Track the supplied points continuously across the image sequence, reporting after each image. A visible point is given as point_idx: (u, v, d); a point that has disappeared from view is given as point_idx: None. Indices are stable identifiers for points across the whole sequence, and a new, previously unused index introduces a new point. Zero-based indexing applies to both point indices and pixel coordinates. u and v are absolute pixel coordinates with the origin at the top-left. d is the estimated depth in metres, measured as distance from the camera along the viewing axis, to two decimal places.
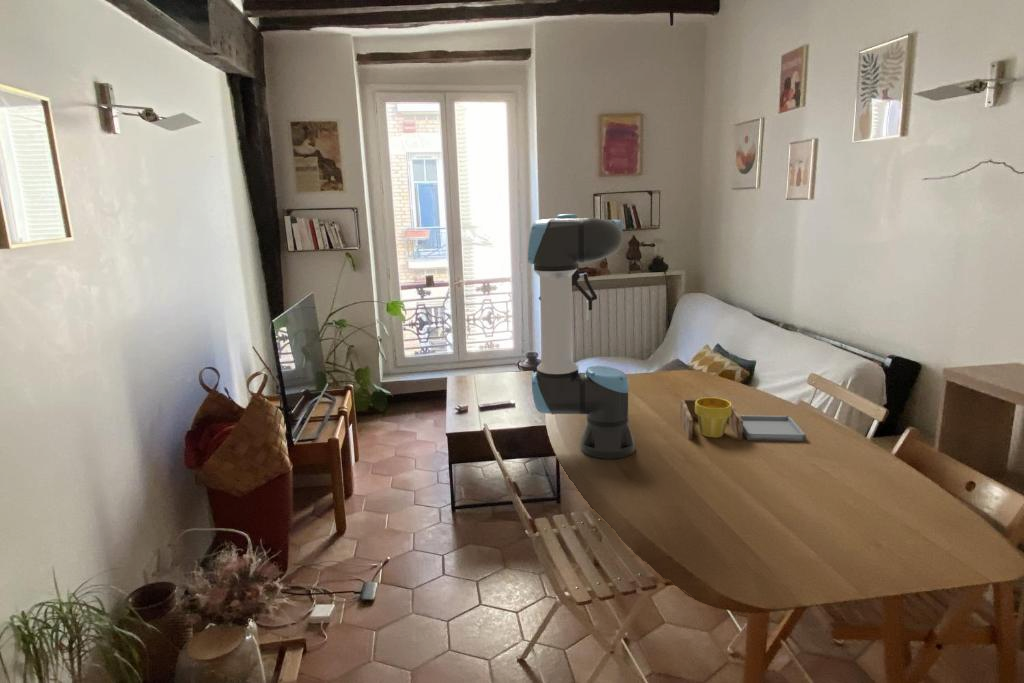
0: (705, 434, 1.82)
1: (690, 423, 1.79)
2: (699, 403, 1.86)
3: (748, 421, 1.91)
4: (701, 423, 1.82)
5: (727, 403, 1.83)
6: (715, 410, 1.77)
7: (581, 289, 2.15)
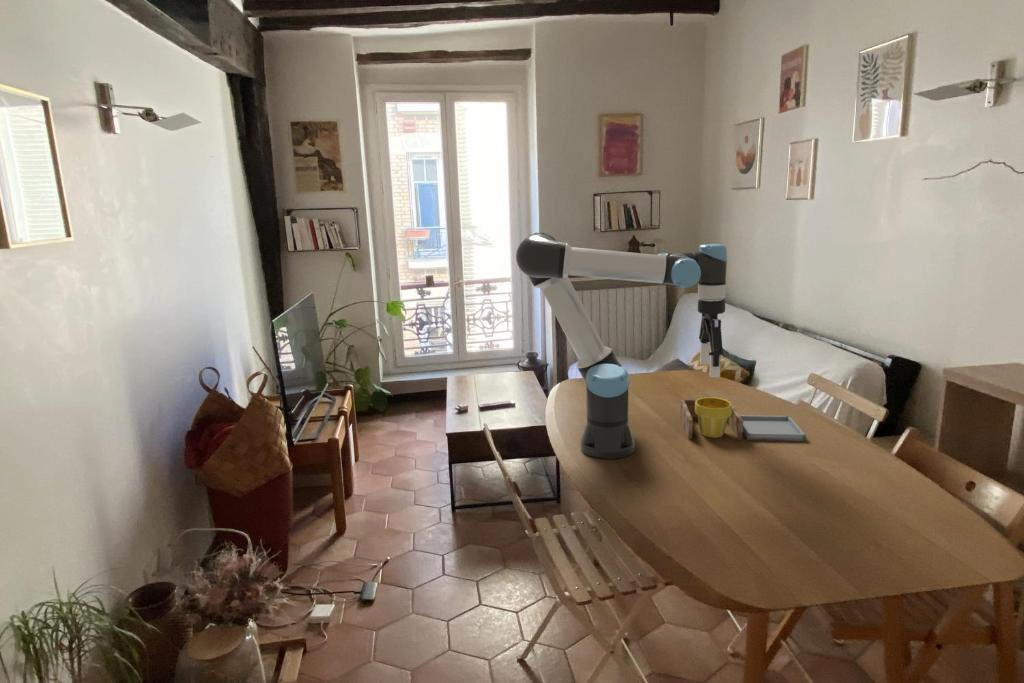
0: (705, 434, 1.82)
1: (690, 423, 1.79)
2: (699, 403, 1.86)
3: (748, 421, 1.91)
4: (701, 423, 1.82)
5: (727, 403, 1.83)
6: (715, 410, 1.77)
7: (709, 338, 1.74)
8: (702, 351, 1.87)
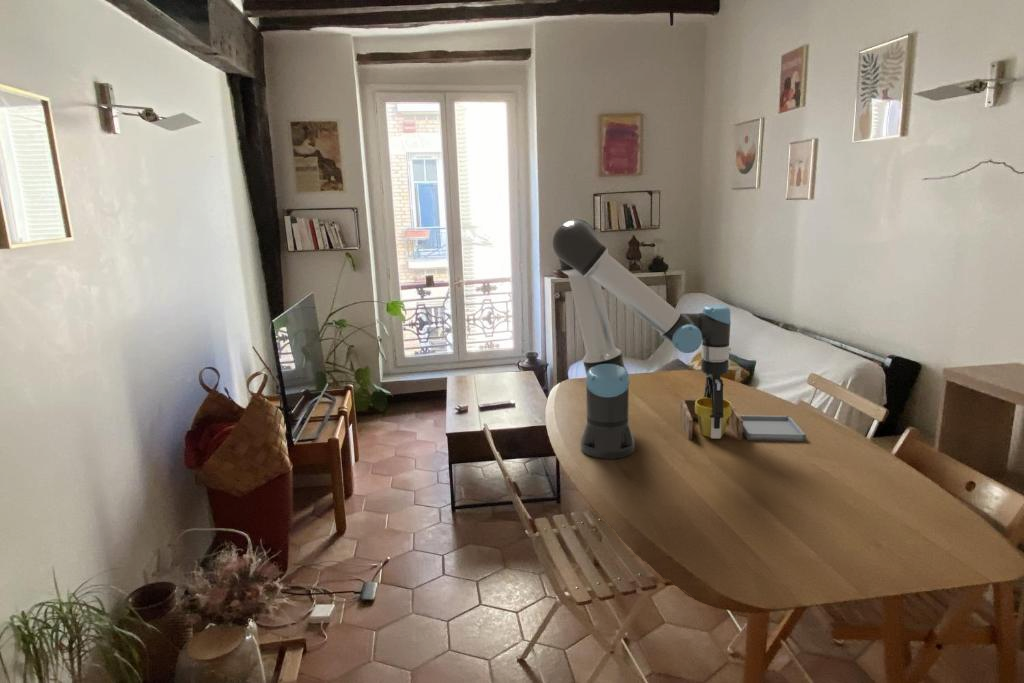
0: (705, 434, 1.82)
1: (690, 423, 1.79)
2: (699, 403, 1.86)
3: (748, 421, 1.91)
4: (701, 423, 1.82)
5: (727, 403, 1.83)
6: None
7: None
8: None
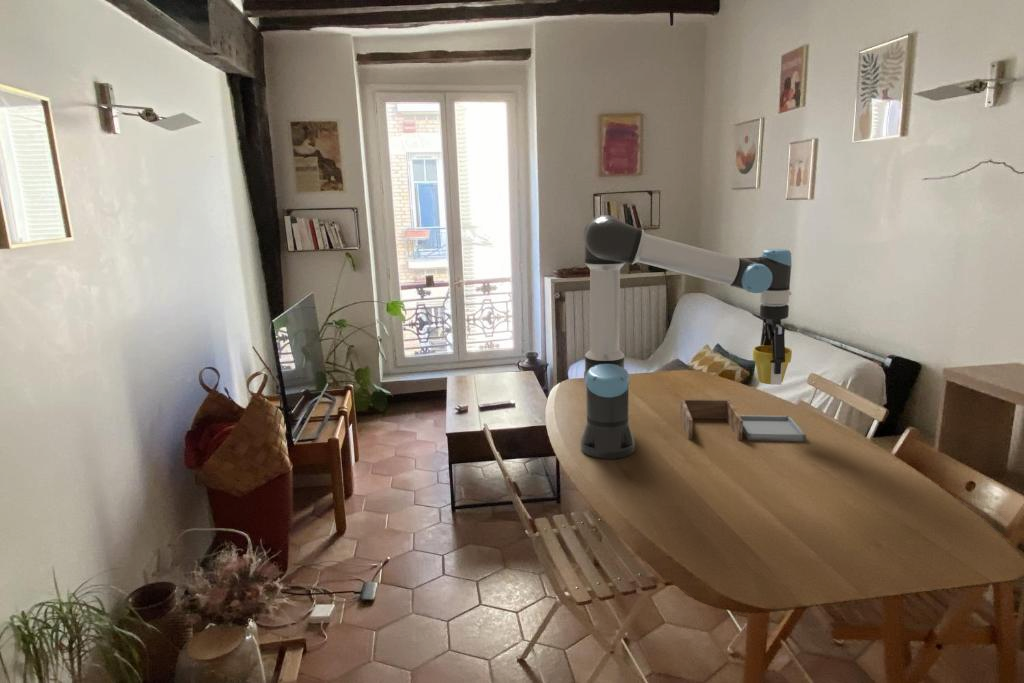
0: (764, 381, 1.79)
1: (690, 423, 1.79)
2: (757, 351, 1.83)
3: (748, 421, 1.91)
4: (760, 370, 1.79)
5: (786, 350, 1.80)
6: None
7: (772, 344, 1.75)
8: None
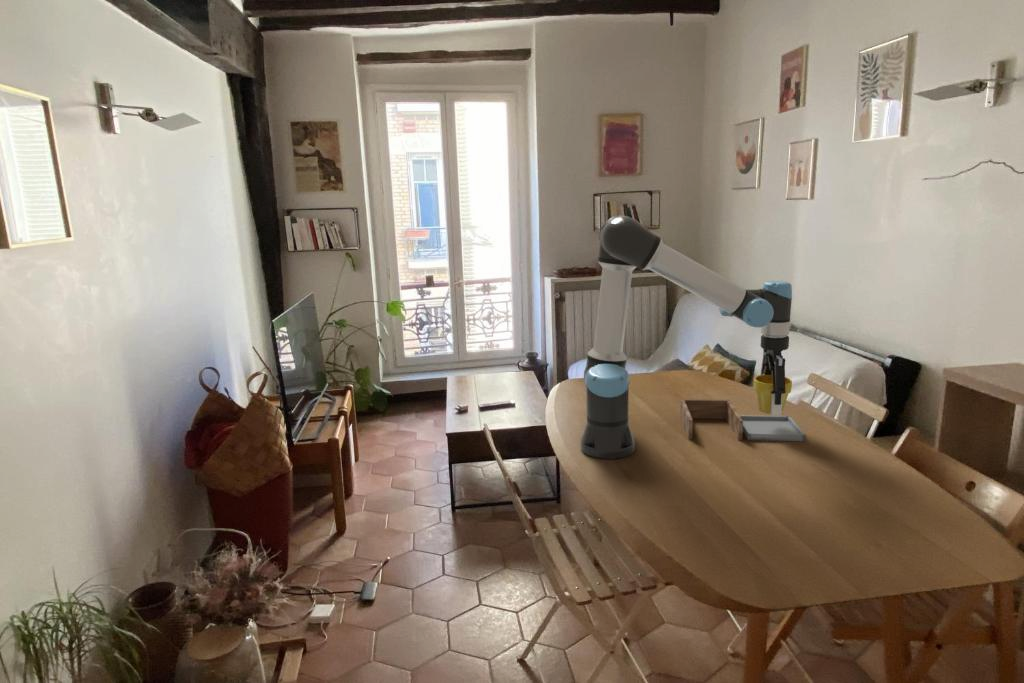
0: (764, 411, 1.81)
1: (690, 423, 1.79)
2: (757, 380, 1.85)
3: (748, 421, 1.91)
4: (760, 400, 1.81)
5: (786, 380, 1.82)
6: None
7: (772, 375, 1.77)
8: None
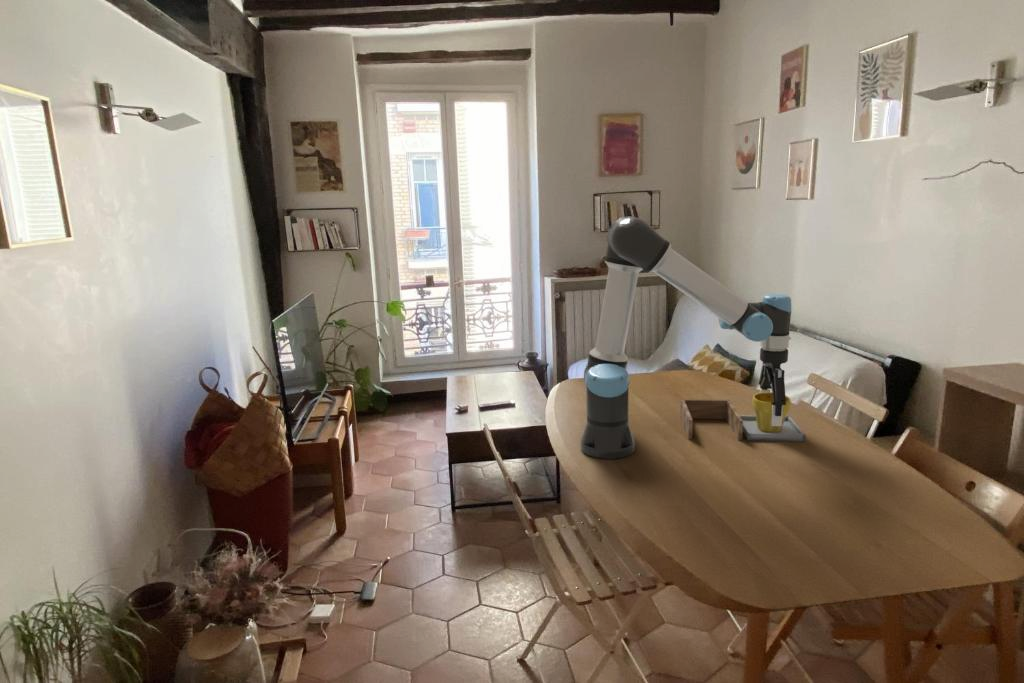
0: (763, 429, 1.82)
1: (690, 423, 1.79)
2: (756, 398, 1.86)
3: (748, 421, 1.91)
4: (759, 418, 1.82)
5: None
6: None
7: (772, 387, 1.77)
8: None
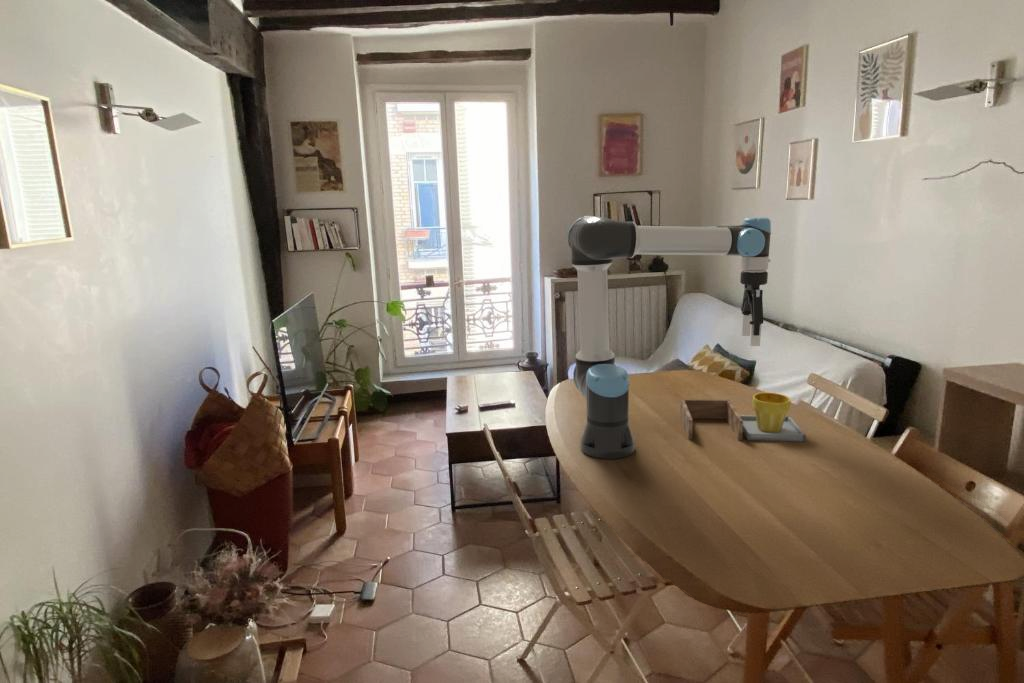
0: (763, 429, 1.82)
1: (690, 423, 1.79)
2: (756, 398, 1.86)
3: (748, 421, 1.91)
4: (759, 418, 1.82)
5: (785, 398, 1.83)
6: (775, 405, 1.77)
7: (751, 308, 1.81)
8: (743, 323, 1.93)
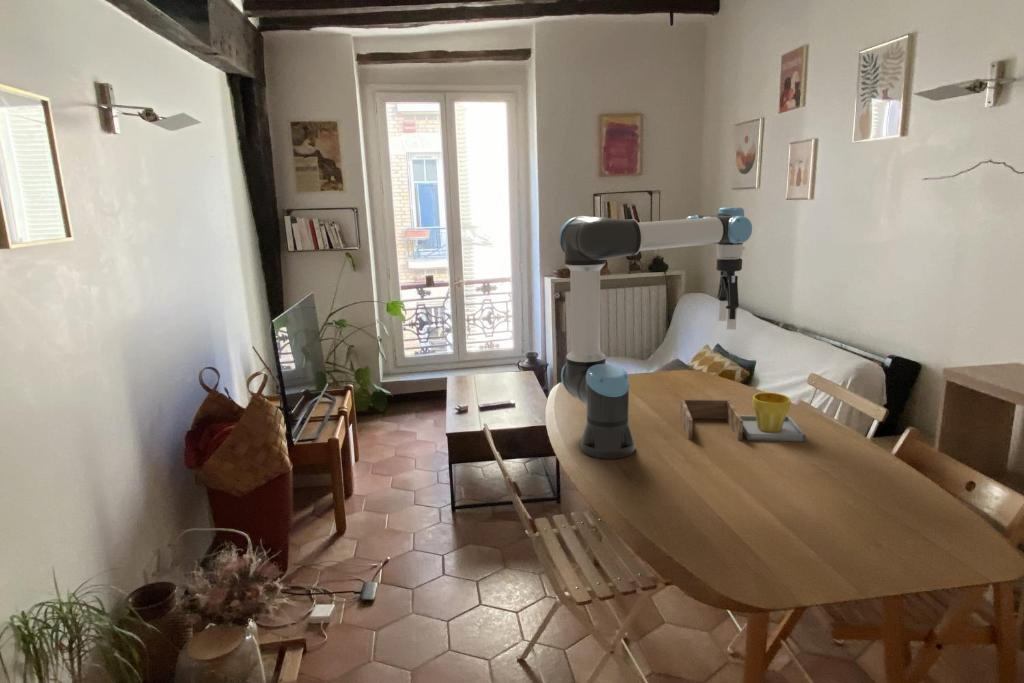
0: (763, 429, 1.82)
1: (690, 423, 1.79)
2: (756, 398, 1.86)
3: (748, 421, 1.91)
4: (759, 418, 1.82)
5: (785, 398, 1.83)
6: (775, 405, 1.77)
7: (727, 293, 1.90)
8: (720, 308, 2.02)
